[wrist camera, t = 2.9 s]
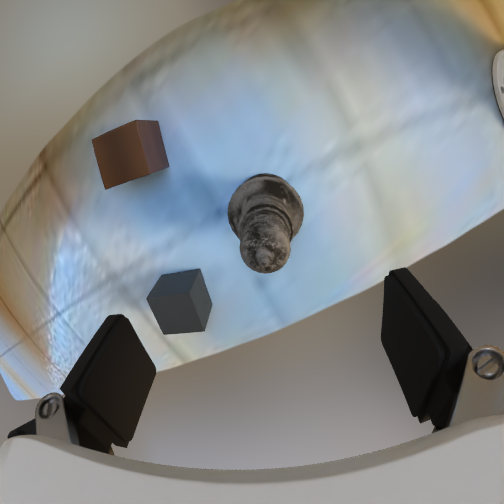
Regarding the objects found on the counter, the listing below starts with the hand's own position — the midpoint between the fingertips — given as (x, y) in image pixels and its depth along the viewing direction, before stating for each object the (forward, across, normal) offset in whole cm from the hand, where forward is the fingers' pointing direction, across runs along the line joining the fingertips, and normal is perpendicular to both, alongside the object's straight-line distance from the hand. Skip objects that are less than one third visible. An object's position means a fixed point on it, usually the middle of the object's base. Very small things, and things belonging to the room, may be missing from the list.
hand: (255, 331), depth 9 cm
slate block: (+17, +10, +7) cm, 21 cm away
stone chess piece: (+17, 0, 0) cm, 17 cm away
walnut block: (+17, +10, -8) cm, 21 cm away
